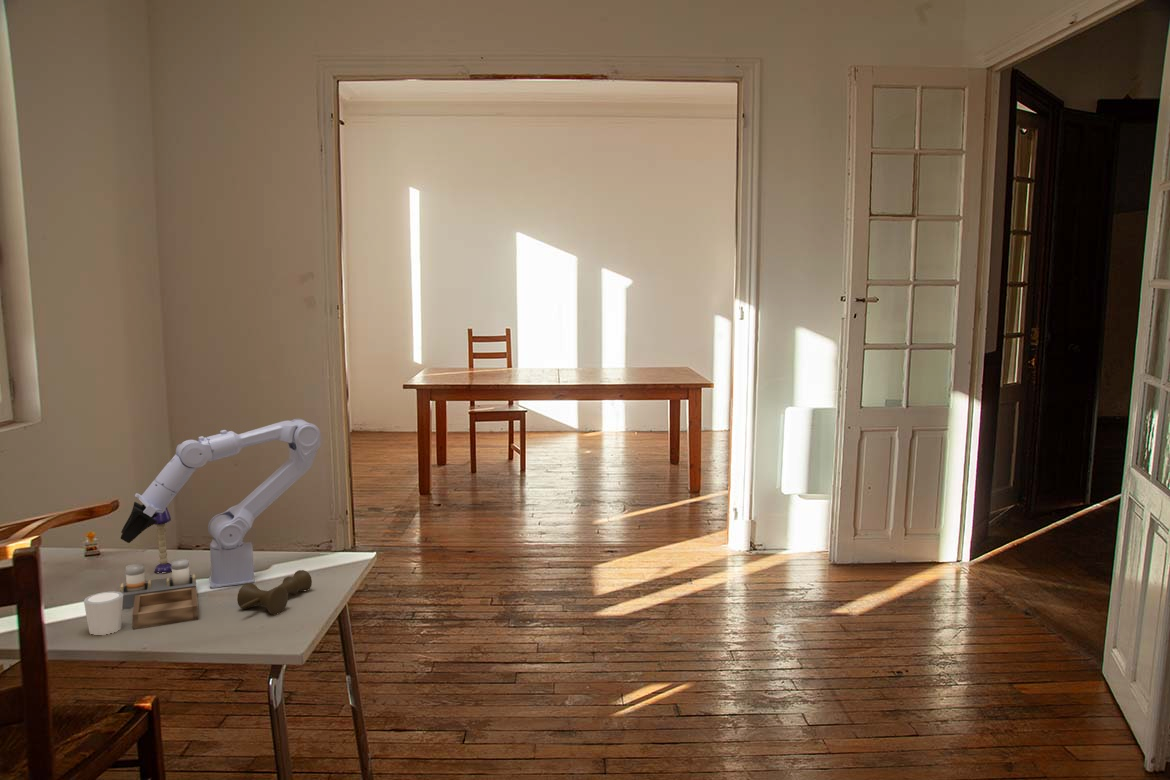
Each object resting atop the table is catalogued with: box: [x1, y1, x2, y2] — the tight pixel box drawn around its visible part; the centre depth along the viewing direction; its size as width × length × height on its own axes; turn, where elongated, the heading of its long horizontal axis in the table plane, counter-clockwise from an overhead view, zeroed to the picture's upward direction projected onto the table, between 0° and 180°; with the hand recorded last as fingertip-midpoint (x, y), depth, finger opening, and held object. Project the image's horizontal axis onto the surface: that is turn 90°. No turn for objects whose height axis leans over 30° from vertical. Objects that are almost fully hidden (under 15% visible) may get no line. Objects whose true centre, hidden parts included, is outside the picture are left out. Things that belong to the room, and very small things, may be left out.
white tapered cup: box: [83, 591, 123, 636], centre depth 163 cm, size 7×7×7 cm
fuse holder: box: [119, 573, 197, 610], centre depth 181 cm, size 15×8×4 cm, turn 117°
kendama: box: [237, 569, 313, 616], centre depth 178 cm, size 6×10×20 cm
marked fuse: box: [125, 563, 146, 592], centre depth 178 cm, size 4×4×8 cm
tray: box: [132, 586, 199, 630], centre depth 172 cm, size 12×12×3 cm
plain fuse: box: [170, 557, 191, 586], centre depth 182 cm, size 4×4×8 cm
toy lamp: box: [153, 506, 172, 573], centre depth 197 cm, size 5×5×17 cm
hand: (124, 537), depth 178 cm, fingers open, 7 cm apart
